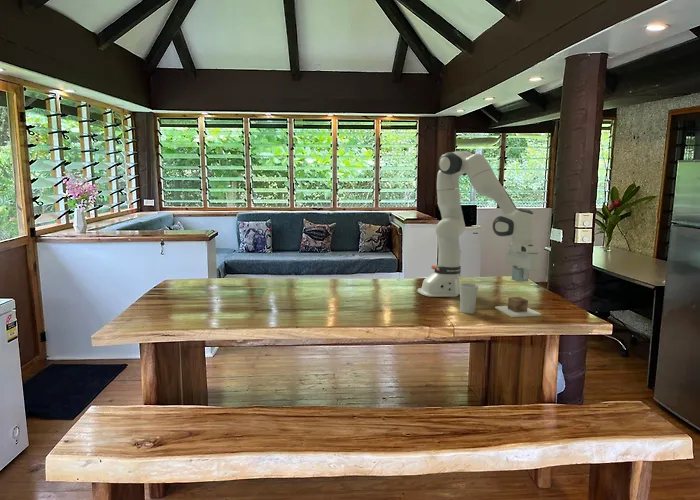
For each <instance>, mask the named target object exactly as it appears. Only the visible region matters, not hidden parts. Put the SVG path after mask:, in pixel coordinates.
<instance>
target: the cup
mask: <svg viewBox="0 0 700 500" xmlns="http://www.w3.org/2000/svg"><path fill="white" fill-rule="evenodd" d="M478 290H479V285H478V284H475V283H467V282H465V283H460V294H459V304H460V305H459V307H460V309H459V311H460V312H461V313H464V314H474V313H475V311H476V305H477V295H478Z"/></svg>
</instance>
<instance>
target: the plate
mask: <svg viewBox="0 0 700 500" xmlns="http://www.w3.org/2000/svg"><path fill="white" fill-rule="evenodd" d="M494 309H496V310H498V311H499V312H501V313H503V314H505V315H507V316H509V317H511V318H523V317H525V318H526V317H536V316H542V314H541V313H540V312H538V311H536V310H534V309H532V308H530V307H528V308H527V311H524V312H514V311H512V310H510V309H508V305H498V306H494Z"/></svg>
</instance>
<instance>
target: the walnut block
mask: <svg viewBox="0 0 700 500" xmlns="http://www.w3.org/2000/svg"><path fill="white" fill-rule="evenodd" d="M528 305H529V300H528V299H526V298H523V297H521V296H515V297H513V296H512V297H508V301H507V306H508V309H510V310H512V311H514V312H524V311H527V308H529V306H528Z"/></svg>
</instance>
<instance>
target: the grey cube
mask: <svg viewBox="0 0 700 500" xmlns="http://www.w3.org/2000/svg"><path fill="white" fill-rule="evenodd" d="M511 268H512V267H511ZM523 273H524V268H521V267H517V268H512V273H511V280H512V281H515V282H517V283H520V282H521V283H523V282H529V276H530V272H529V273H528V275H527V279H524V278H522V274H523Z"/></svg>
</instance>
